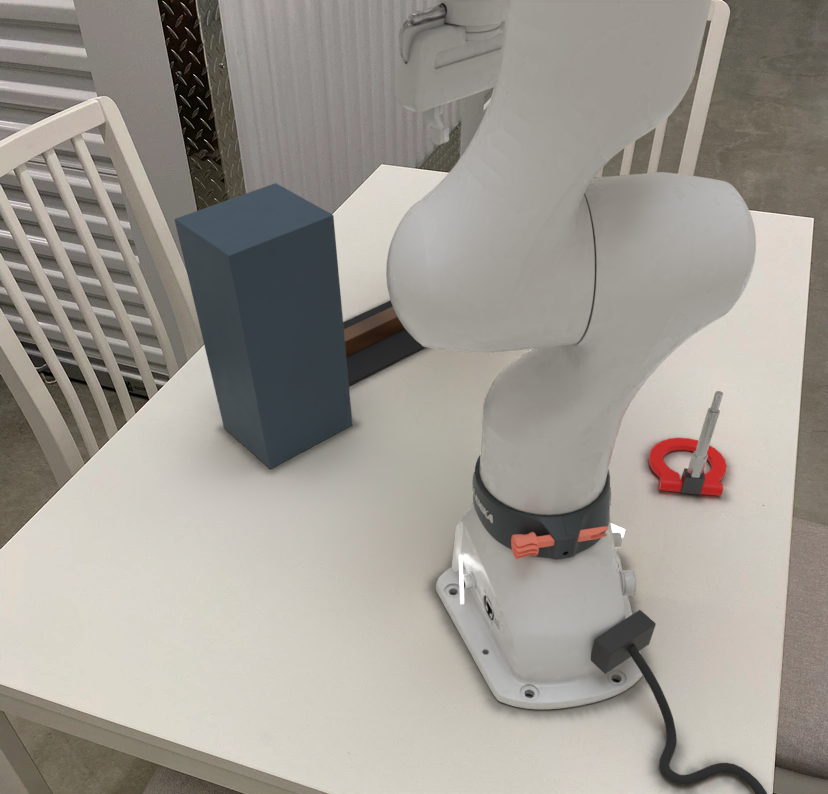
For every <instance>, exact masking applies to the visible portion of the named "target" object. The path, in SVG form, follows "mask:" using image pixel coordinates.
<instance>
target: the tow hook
mask: <svg viewBox="0 0 828 794" xmlns="http://www.w3.org/2000/svg"><path fill="white" fill-rule="evenodd" d="M723 396H724V392H722V391H721V390H717V391H715V392H714V395H713V398H712V402H711V405H710V407H708V409H707V411H706V414H705V418H704V420H703V424H702V428H701V431H700V434H699V438H698V440H697V439H693V438H690V437H689V438H688V437H674V438H667V439H663V440H661V441H659V442H658V443H656V444H655V445H654V446H653V447H652V448H651V449H650V453H649V455H648V464H649V468H651V471H652V472H653V473H654V474H655V475H656V476H657V477H658V478H659V481H658V490H659V491H665V492H676V493H680V494H686V495H687V494H689V495H698V496H699V495H705V496H707V495H708V496H718V497H722V494H723V490H724V484H723V483H722V482H721V481H722V480H723V478H724V477H725V474H726V472H727V467H728V466H727V465H728V464H727V461H726V459H725V457H724V456H723V454H722V453H721V452H720V451H719V450H717V449H716V448H715V447H713V446H712V445H711V440H712V439H713V435H714V432H715V429H716V425H717V423H718V419H719V415H720V412H721V411H720V409H719V408H720V406H721V403H722V400H723ZM674 451H688V452H693V453H692V454H691V457H690V460H689V463H688V467H686V468H683V471H682V475H681V474H680V473H679V472H677V471H675V470H674V469H672V468H670V466H668V465H667V464H666V462H665V460H664V459H665V458H664V457H665V456H666V455H667V454H668V453H671V452H674ZM707 461H708V463H709V464H710V468H711V469H710V470H709V471H707V472H705V467H706V464H707ZM680 475H681V476H680Z"/></svg>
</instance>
